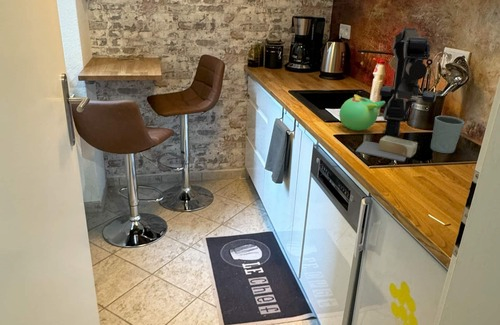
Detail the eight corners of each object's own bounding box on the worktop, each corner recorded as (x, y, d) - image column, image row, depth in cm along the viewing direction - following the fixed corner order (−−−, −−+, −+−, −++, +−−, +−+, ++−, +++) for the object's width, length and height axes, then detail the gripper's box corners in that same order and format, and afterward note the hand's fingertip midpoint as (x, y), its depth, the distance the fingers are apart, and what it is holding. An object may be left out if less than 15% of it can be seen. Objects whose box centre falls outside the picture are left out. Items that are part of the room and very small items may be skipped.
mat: (364, 141, 162) (364, 140, 162) (410, 150, 155) (410, 149, 154) (355, 151, 152) (355, 150, 152) (404, 161, 144) (404, 160, 144)
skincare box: (416, 153, 151) (384, 145, 158) (418, 142, 149) (386, 134, 156) (410, 158, 146) (377, 149, 153) (412, 147, 145) (379, 139, 152)
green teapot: (344, 120, 188) (348, 89, 182) (381, 127, 181) (387, 94, 175) (332, 131, 173) (336, 97, 168) (372, 138, 166) (377, 103, 160)
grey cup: (433, 142, 163) (439, 114, 159) (460, 149, 157) (467, 119, 153) (425, 149, 156) (431, 119, 151) (453, 156, 150) (460, 125, 145)
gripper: (379, 74, 142) (372, 117, 148) (436, 81, 133) (427, 126, 140) (386, 70, 151) (380, 110, 157) (440, 76, 142) (431, 118, 149)
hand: (403, 116), depth 150 cm, fingers closed
